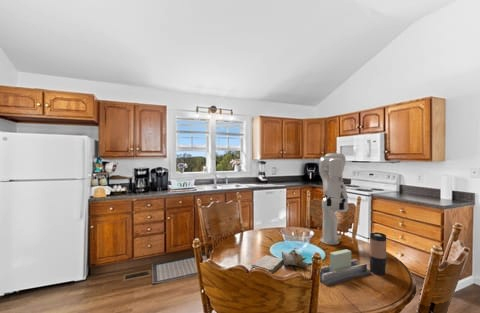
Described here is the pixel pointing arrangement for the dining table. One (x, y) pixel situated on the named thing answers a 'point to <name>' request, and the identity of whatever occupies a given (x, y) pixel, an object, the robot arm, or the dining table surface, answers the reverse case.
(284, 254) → the ceramic sculpture
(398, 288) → the dining table surface
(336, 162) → the robot arm
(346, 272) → the rail
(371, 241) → the travel mug
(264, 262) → the washcloth
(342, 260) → the door panel
